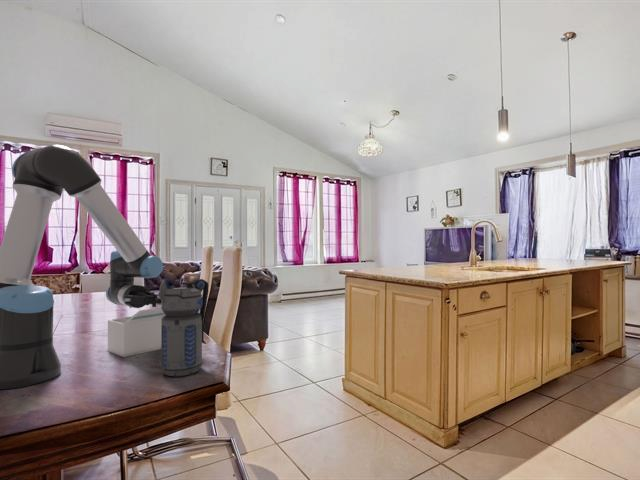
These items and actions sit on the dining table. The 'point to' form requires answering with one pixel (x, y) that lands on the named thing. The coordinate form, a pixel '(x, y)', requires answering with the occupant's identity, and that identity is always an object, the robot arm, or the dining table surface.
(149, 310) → the lid
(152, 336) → the box
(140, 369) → the dining table surface
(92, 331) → the dining table surface
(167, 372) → the beverage bottle
